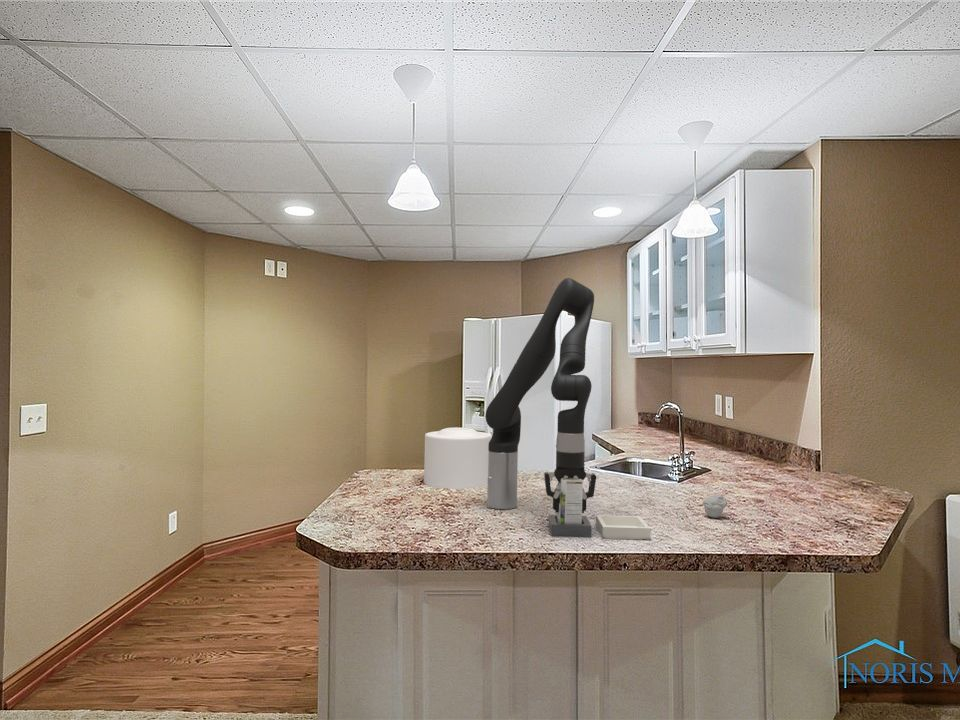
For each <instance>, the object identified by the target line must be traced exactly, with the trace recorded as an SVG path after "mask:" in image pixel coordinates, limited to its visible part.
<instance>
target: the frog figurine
mask: <svg viewBox="0 0 960 720" xmlns="http://www.w3.org/2000/svg"><path fill="white" fill-rule="evenodd" d="M728 501H729V500H728V499H727V498H726V497H724V496H723V495H722V494H720V493H715V494H713V495H711V496H709V497H707V498H705V499H704V500H703V501H702V504H703V505H704V511H705V514H706V515H707V516H708V517H710V518H711V519H712V518H713V519H716V518H719V517H721V516H722V515H723V512H724V509H725V508H726V507H727V505H728Z"/></svg>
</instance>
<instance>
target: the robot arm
mask: <svg viewBox="0 0 960 720" xmlns="http://www.w3.org/2000/svg"><path fill="white" fill-rule="evenodd" d="M594 304H595V293H594V291H592V289H590V288H589V287H587V286H586V285H584V284H582V283H580V282H579V281H577V280H576V279H573V278H571V277H566V278H564V279H562V280H561V281H560V283H558V285H557V286H556V288H555V290H554V292H553V294H552V295H551V297H550V300H549V302H548V304H547V306H546V308H545V309H544V310H545V311H544V313H543V315H542V316H541V319H540V320H539V323H538V324H537V326H536V328H535V329H534V331H533V333H532V335H531V336H530V338H529V339H528V341H527V342H526V344H525V346H524V347H523V349H522V351H521V352H520V354H519V356H518V359H517V360H516V361H515V363H514V365H513V367H512V369H511V371H510V373H508V375H507V376H508V377H507V378H506V380H505V382H504V383H503V385H502V386H501V388H499V391H498V392H497V393H496V394H495V396H494V397H493V399H492V400H491V401H490V403H489V405H488V406H487V408H486V410H485V416H484V417H485V421H486V424H487V426H489V428H490V429H492V435H491V440H490V441H489V445H488V450H489V451H488V486H487V495H486V496H487V497H486V498H487V503H486V505H487V506H486V507H487V508H491V509H494V510H495V509H496V510H497V509H498V510H510V509H511V510H512V509H515V508H517V507H518V467H519V466H518V464H519V463H518V462H519V461H518V459H519V458H518V457H519V455H518V453H519V449H518V448H519V444H520V442H521V441H520V440H521V427H522V426H521V425H522V412H521V409H520V407H519V405H520V403H521V401H522V400H523V398H524V397H525V395H526V394H527V393H528V392H529V390H530V389H532V387H534V386H535V384H536V383H538V381H539V380H540V379H541V378H542V377H543V375H544V374H545V373H546V371H547V369H548V368H549V367H550V364H551V363H552V361H553V359H554V358H555V353H556V349H557V348H556V346H557V345H556V344H557V343H556V331H557V330H556V329H557V324H558V321H559V318H560V316H561V314H562V312H563V311H565V312H566V313H568V314H570V315H572V316H573V318H574V325H573V326H572V328H571V329H570V330H569V331H568V332H566V334H565V335H564V337H563V338H562V340H561V342H560V348H559V349H560V350H559V362H558V366H557V369H556V372H555V375H554V376H553V379H552V381H551V386H550V393H551V395H552V398H554V399H555V400H556V401H560V402H577V404H576V406H574V407H573V408H569V409H563V410H560V411H559V412H558V414H557V434H556V440H555V442H556V443H555V469H554V471H552V472H548V471H545V472H544V473H543V476H544V484H545V485H544V486H545V491H546V495H547V496H548V497H552V509H553V511H554V512H555V513H556V514H557V513H558V510H559V499H558V496H559V494H560V491H561V478H563V479H564V478H574V479H582V480H583V481H584V480H585V479H587V481H588V489H587V491H586V492H585V490H584V488H583V496H582V514H584V513H585V512H586V511H587V500H588V499H589V498H594V495H595V489H596V482H597V475H596V473H593V472H592V473H589V472H586V471H585V451H586V448H585V447H586V445H585V443H586V441H585V440H586V439H585V414H586V409H587V404H588V401H589V397H590V395H591V392H592V382H591V379H590V378H589V377H588V376H587V375H584V374H579V373H581V372H583V371H584V369H585V367H586V350H587V349H586V345H587V336H588V332H589V327H590V324H591V319H592V314H593V311H594ZM554 477H555V479H556V481H557V483H556V486H555V488H554V491H553V490H552V487H551V481H553V478H554ZM559 483H560V484H559Z"/></svg>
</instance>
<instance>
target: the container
mask: <svg viewBox="0 0 960 720" xmlns="http://www.w3.org/2000/svg"><path fill="white" fill-rule="evenodd" d="M491 438H492V435H491V434H490V433H488V432H483V431H477V430H476V429H474V428H470V427H455V426H454V427H446V428H442V429H440V430H438V431H436V430H435V431H430V432H429V431H428V432H427V433H425V434H424V462H423V463H424V465H423V466H424V469H423V472H424V473H423V474H424V475H423V476H424V477H423V483H424V484H425V485H426V486H429V487H432V488H438V489H444V488H448V489H447V490H449V489H450V490H464V489H463V488H473V489H476V488H475V487H481V486H485V485H487V484H488V451H489V450H488V445H489V441H490V440H491ZM485 487H486V486H485ZM481 488H482V487H481Z"/></svg>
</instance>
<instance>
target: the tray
mask: <svg viewBox="0 0 960 720" xmlns="http://www.w3.org/2000/svg"><path fill="white" fill-rule="evenodd" d="M595 527H596V528H597V531H598V530H599V531H598V533H599V534H600V536H601V537H602V539H603V540H626V539H641V540H640V541H643V540H642V539H646V540H645V541H651V536H652V534H651V533H652V528H651V527H650V526H649V524H648V523H646V521H645V520H644V519H643V518H642V517H641V516H640V515H637V516H636V515H611V514H610V515H607V514H606V515H604V514H603V515H602V514H598V515H597V514H596V515H595ZM647 539H648V540H647Z"/></svg>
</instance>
